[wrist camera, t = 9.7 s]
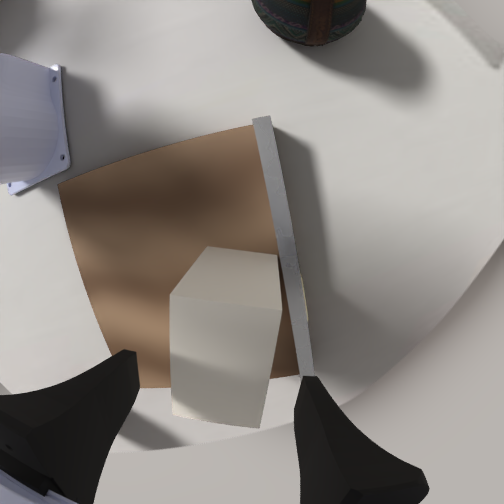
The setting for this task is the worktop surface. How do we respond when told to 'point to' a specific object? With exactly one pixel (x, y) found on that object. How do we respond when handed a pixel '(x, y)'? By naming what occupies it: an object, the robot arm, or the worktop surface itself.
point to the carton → (224, 336)
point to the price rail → (285, 242)
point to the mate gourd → (310, 19)
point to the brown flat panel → (168, 237)
